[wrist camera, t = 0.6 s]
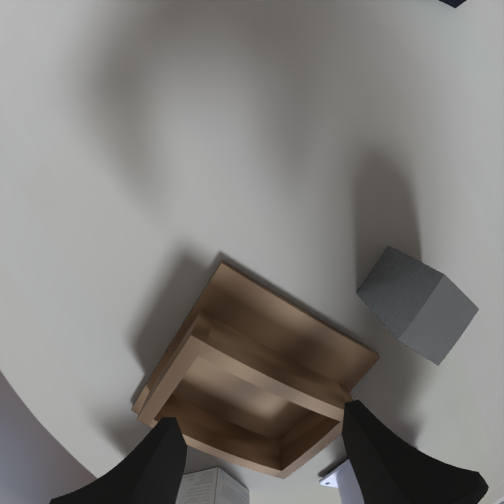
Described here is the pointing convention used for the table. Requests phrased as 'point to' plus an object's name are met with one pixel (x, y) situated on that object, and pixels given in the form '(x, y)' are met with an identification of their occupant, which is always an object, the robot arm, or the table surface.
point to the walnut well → (254, 377)
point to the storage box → (453, 2)
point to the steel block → (417, 304)
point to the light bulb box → (211, 488)
